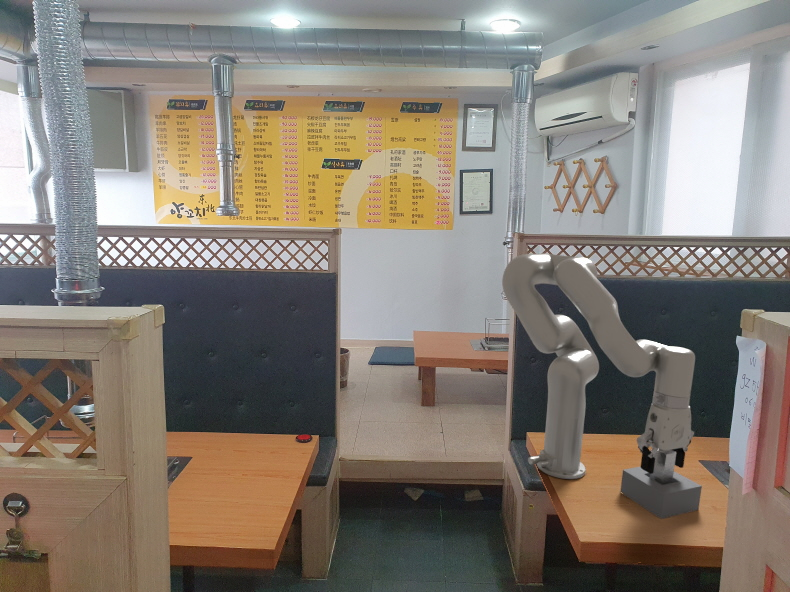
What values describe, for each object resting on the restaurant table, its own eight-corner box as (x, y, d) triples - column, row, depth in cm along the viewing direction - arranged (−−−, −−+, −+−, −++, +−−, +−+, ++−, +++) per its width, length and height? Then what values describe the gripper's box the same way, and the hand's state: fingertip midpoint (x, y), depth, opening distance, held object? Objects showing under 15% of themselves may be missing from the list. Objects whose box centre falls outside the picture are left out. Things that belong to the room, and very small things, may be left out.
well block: (661, 518, 118) (664, 494, 117) (620, 492, 129) (622, 469, 128) (698, 509, 123) (701, 485, 122) (656, 485, 133) (658, 463, 133)
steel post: (659, 506, 123) (666, 454, 121) (646, 498, 127) (653, 448, 125) (669, 503, 125) (676, 452, 123) (656, 495, 128) (663, 446, 126)
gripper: (657, 408, 115) (647, 481, 118) (711, 401, 122) (701, 470, 124) (630, 397, 122) (622, 465, 125) (683, 391, 129) (674, 456, 131)
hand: (661, 468), depth 125 cm, fingers open, 9 cm apart
